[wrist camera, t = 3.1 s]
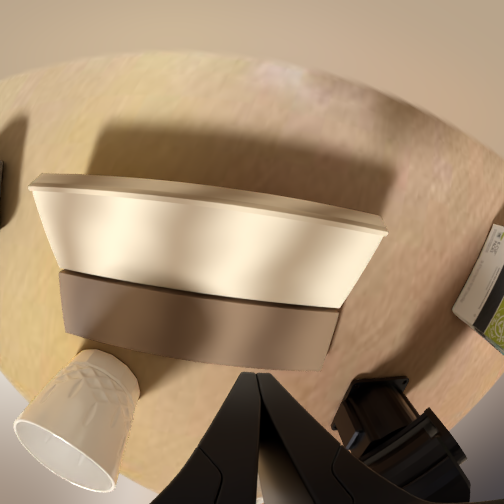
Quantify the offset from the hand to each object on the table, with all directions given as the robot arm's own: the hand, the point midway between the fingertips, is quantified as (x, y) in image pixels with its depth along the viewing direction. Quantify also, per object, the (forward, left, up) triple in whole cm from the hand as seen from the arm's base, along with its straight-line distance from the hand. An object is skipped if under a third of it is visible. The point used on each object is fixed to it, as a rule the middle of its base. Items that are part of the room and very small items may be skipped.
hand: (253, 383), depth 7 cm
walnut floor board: (+3, +4, -11) cm, 12 cm away
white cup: (+11, +12, -11) cm, 19 cm away
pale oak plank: (+3, -2, -9) cm, 10 cm away
